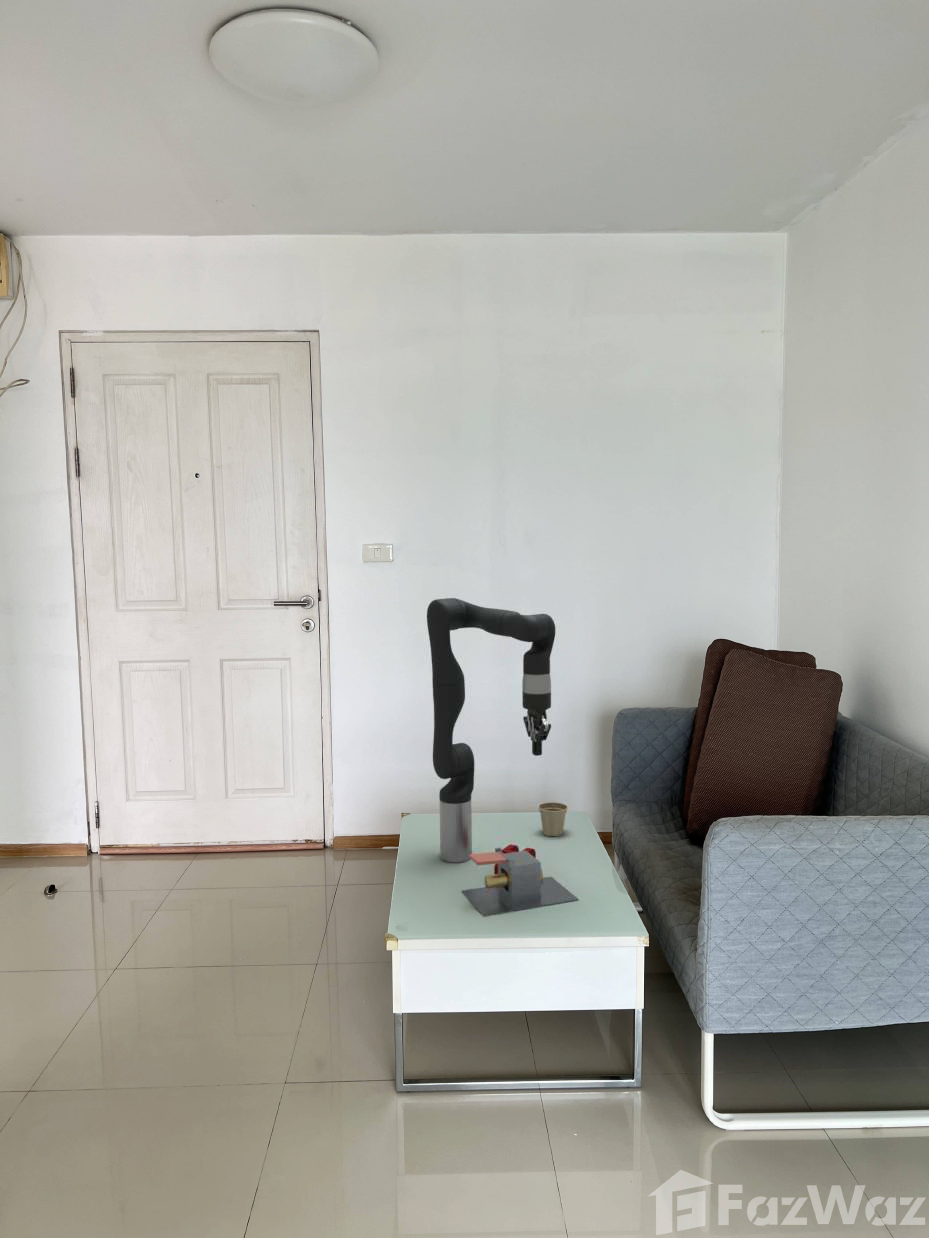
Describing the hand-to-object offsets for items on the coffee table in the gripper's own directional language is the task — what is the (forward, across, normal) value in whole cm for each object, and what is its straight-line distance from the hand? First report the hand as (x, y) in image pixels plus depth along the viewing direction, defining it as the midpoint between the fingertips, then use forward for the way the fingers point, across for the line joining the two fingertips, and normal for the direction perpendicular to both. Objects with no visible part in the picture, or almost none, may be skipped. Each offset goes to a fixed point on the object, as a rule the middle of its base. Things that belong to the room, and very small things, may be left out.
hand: (537, 754), depth 229 cm
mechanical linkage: (+36, +11, +3) cm, 37 cm away
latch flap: (+24, -6, +16) cm, 30 cm away
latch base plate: (+35, -6, +8) cm, 36 cm away
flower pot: (+35, +34, -21) cm, 53 cm away
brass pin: (+33, -6, +10) cm, 35 cm away
